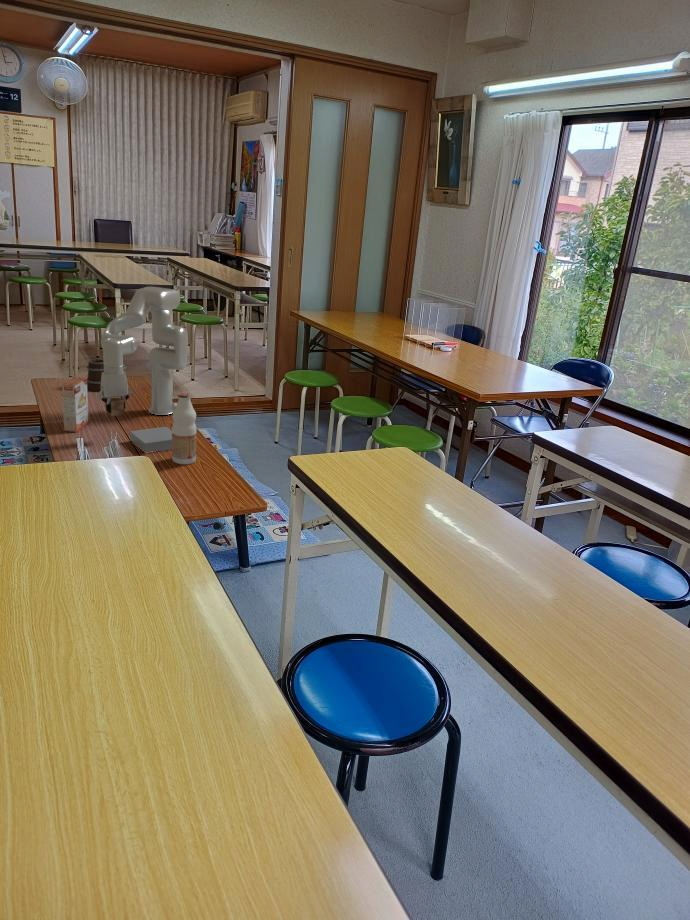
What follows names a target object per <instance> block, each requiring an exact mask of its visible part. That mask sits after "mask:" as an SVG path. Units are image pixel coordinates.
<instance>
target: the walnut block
mask: <svg viewBox="0 0 690 920" xmlns="http://www.w3.org/2000/svg"><path fill="white" fill-rule="evenodd" d="M110 404H111V413H110V414H109V415H110V416H111V417H116V416H123V415H125V412H124V401H123V400H122V399H121V398H120V396H118V397H111V399H110Z"/></svg>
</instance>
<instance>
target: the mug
mask: <svg viewBox="0 0 690 920" xmlns="http://www.w3.org/2000/svg"><path fill="white" fill-rule="evenodd" d="M86 369H87V377H86V378H87V392H88V391H89V392H94V393H99V392H100V391H101V376H102V372H104V360H103V359H100V358H97V359H96V358H94V359H90V360H89V362H88V365H87V366H86Z"/></svg>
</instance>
